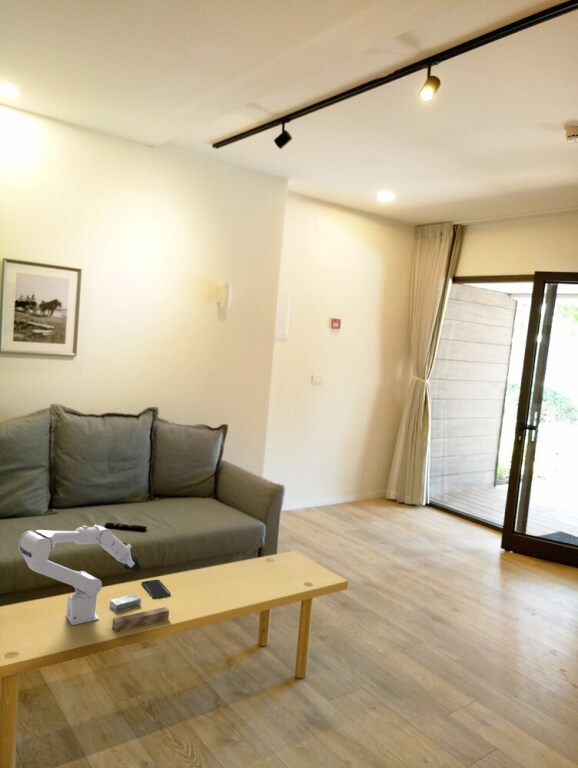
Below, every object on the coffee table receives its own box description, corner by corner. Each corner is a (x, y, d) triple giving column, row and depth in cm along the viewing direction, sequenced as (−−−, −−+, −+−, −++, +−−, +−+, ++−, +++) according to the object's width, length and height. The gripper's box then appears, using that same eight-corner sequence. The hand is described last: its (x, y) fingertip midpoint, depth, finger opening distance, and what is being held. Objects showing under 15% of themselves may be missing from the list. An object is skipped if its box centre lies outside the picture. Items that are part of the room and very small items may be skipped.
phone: (158, 579, 236) (171, 594, 223) (158, 581, 236) (171, 596, 223) (140, 581, 231) (152, 597, 219) (140, 584, 231) (152, 600, 219)
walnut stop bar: (115, 632, 192) (116, 622, 192) (112, 628, 194) (112, 618, 194) (168, 619, 204) (169, 610, 204) (164, 615, 207) (165, 606, 206)
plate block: (115, 612, 206) (116, 605, 206) (109, 607, 209) (110, 599, 209) (140, 606, 213) (140, 598, 213) (133, 601, 216) (134, 593, 216)
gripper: (131, 549, 203) (151, 566, 212) (115, 529, 213) (134, 546, 222) (117, 564, 201) (137, 580, 210) (101, 543, 211) (121, 560, 220)
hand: (135, 564), depth 216 cm, fingers open, 7 cm apart
